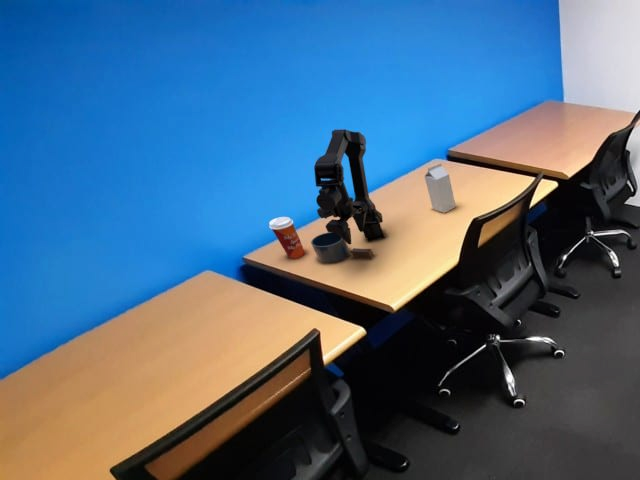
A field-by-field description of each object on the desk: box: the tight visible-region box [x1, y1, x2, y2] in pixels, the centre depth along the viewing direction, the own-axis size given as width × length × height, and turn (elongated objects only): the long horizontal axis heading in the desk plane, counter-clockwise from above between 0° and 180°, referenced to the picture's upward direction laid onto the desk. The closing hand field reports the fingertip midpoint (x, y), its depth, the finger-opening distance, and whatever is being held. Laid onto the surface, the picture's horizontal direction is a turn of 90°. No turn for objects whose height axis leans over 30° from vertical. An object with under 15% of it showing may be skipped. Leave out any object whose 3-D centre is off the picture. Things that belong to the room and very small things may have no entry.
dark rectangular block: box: [350, 247, 375, 260], centre depth 174 cm, size 7×2×3 cm, turn 85°
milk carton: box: [424, 162, 457, 214], centre depth 199 cm, size 7×7×19 cm
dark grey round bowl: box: [310, 231, 351, 264], centre depth 173 cm, size 11×11×7 cm
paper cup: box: [268, 216, 306, 259], centre depth 172 cm, size 8×8×14 cm
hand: (355, 237), depth 170 cm, fingers open, 9 cm apart
